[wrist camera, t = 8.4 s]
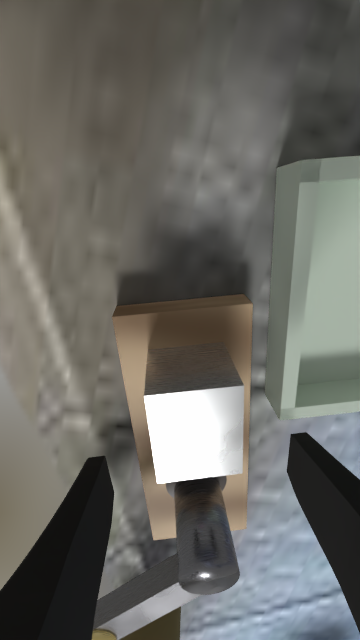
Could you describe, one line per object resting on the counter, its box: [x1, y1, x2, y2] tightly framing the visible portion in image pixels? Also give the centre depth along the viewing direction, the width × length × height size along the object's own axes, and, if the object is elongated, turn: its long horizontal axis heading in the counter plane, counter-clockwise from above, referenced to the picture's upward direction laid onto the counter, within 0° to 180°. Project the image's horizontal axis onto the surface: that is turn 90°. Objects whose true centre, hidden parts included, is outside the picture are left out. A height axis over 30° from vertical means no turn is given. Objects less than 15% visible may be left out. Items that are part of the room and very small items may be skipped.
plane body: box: [112, 294, 253, 540], centre depth 18 cm, size 18×7×2 cm, turn 4°
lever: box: [92, 477, 240, 640], centre depth 16 cm, size 12×3×5 cm, turn 130°
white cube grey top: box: [144, 342, 244, 483], centre depth 14 cm, size 5×4×4 cm
